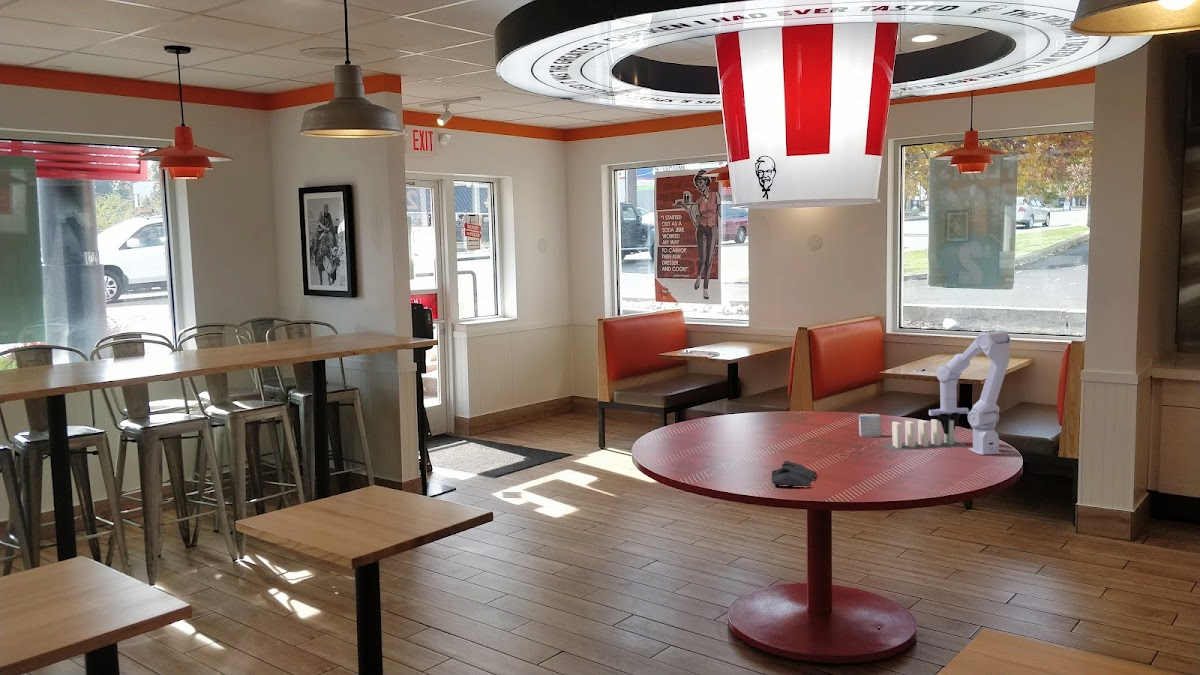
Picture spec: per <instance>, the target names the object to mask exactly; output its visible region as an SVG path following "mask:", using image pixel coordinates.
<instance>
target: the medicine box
mask: <svg viewBox="0 0 1200 675" xmlns="http://www.w3.org/2000/svg"><path fill="white" fill-rule="evenodd" d="M881 417H882V416H881V414H878V413H871V414H867V413H865V414H859V415H858V433H859V437H860V436H861V437H864V438H876V437H882V418H881ZM861 437H860V438H861Z"/></svg>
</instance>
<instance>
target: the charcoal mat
mask: <svg viewBox="0 0 1200 675" xmlns="http://www.w3.org/2000/svg"><path fill="white" fill-rule="evenodd" d="M879 445H880V446H882V447H884V448H886V449H887V450H889V451H893V452H894V451H908V450H909V451H910V450H922V449H923V450H924V449H925V450H926V449H940V448H956V447H957V448H958V447H968V446H969V445H967V444H965V443H963V442H961V441H958V440H956V439H954V445H949V444H947V443H945V442H944V439H941V445H939V446H937V445H935V444H932V443H931V440H928V446H922V445H920V444H918V441H915V447H909V446H907V445H906V442H902V448H897V447H895V446H893V442H892V443H891V442H890V443H880V444H879Z"/></svg>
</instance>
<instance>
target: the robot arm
mask: <svg viewBox="0 0 1200 675" xmlns="http://www.w3.org/2000/svg"><path fill="white" fill-rule="evenodd" d="M1012 341H1013V340H1012V339H1011V337H1010V335H1009V334H1008V332H1007V331H1005V330H1002V329H1001V330H997V331H988V332H987V331H985V332H981V333H979V335H978V336H976V337H975V339H974V341H973V342H972V343H971V344H970V345H969V346H968V347H967V349H965V350H964V351H963V353H962V352H961V353H955V354H954V355H953V358H951V359H950V361H947V362H946V363H945V365H940V366H939V367H938V368H937V369H936V373H935V374H936V378H937V379H938V381H939V392H940V393H939V395H940V396H939V400H940V402H939V403H940V408H936V409H928V415H929V416H931V417H933V416H937V418H938V421H941V428H942V429H943V434H944V433H945V434H948V423H949V419H951V420H953V421H954V431H955V429H956V426H957V424H958V422H959V420H960V418H961V415H962V414H963V415H964V414H967V422H968V423H969V425H970V427H971V428H972V447H971V448H970V447H969V448H968V451H972V452H974V453H976V454H980V456H985V454H986V455H999V454H1002V451H1000V437H999V434H998V432H997V431H995V430H996V429H995V427H996V426H997V424H998V422H999V420H1000V414H999V413H1000V406H999V405H998V404H997V402H998V398H999V395H1000V391H1001V388H1002V385H1003V381H1004V379H1005V376H1006V373H1007V370H1008V367H1009V363H1010V358H1011V357H1010V348H1011V345H1012ZM981 352H983V353H984V354H985V355H986V357H987V358H988V359H990V361H991V362H990V364H989V367H988V371H987V373H986V377H985V380H984V384H983V387H982V391H981V394H980V398H979V400H978V401H977V402H976V403H974V404H973V405H972V408H971V410H969V408H968V407H957V406H958V404H957V400H958V399H957V396H958V395H957V393H958V392H957V385H958V382H959V379H960V376H961V373H963V371H965V370H966V369H967V368H969V366H970V364H971V360H972V359H974V358H975V357H976V356H978V355H979V354H980V353H981Z"/></svg>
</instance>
